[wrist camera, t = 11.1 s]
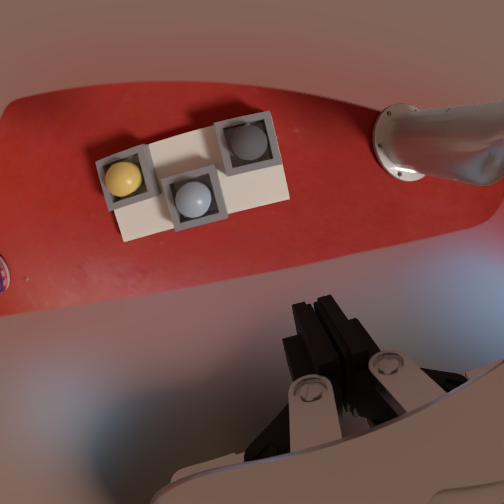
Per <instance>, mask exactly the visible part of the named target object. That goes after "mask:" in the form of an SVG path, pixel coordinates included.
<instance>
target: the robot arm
mask: <svg viewBox="0 0 504 504" xmlns="http://www.w3.org/2000/svg"><path fill="white" fill-rule="evenodd" d="M372 141H373V148H374V152H375V155H376V157H377V159H378V161H379V163H380V165H381V166H382V168H383V169H384V170H385V171H386V172H387V173H388V174H389V175H391V176H392V177H394V178H396V179H399V180H402V181H416V180H419V179H421V178H422V177H424V176H425V175H429V176H435V177H440V178H445V179H450V180H455V181H459V182H464V183H468V184H473V185H479V186H486V185H490V184H493V183H495V182H497V181H498V180H500V179H501V178H502V177H503V176H504V100H500V101H495V102H488V103H480V104H470V105H461V106H451V107H442V108H433V109H426V110H419V109H418V108H416V107H414V106H412V105H409V104H402V103H401V104H395V105H391V106H389V107H387V108H386V109H384V110H383V111H382V112H381V113H380V114H379V116H378V117H377V119H376V122H375V124H374V128H373V137H372ZM378 145H379V147H378ZM397 173H398V174H397ZM317 300H318V302H314V309H313V307H312V306H311V304H307V305H306V303H305V302H301V303H297V304H293V305H292V310H293V315H294V320H295V325H296V330H297V335H295V336H291V337H287V338H284V339H282V341H283V346H284V350H285V354H286V359H287V363H288V366H289V370H290V374H291V377H292V380H293V383H292V385H291V386H290V388H289V403H288V404H287V405H286V406H285V408H284V409H283V410H282V411H281V412H280V413H279V414H278V415H277V417H276V418H275V419H274V420H273V421H272V422H271V423H270V424H269V425H268V426H267V428H266V429H265V430H264V431H263V432H262V433H261V434H260V435H259V436H258V437H257V438H256V439H255V440H254V441H253V442H252V443H251V444H250V445H249V447H248V448H247V449H246V451H245V452H243V453H241V454H238V455H236V454H235V453H232V454H229V455H227V456H224V457H220V458H218V459H214V460H211V461H207V462H204V463H200V464H197V465H193V466H190V467H186V468H183V469H181V470H178V471H177V472H176V473H175V474H174V475H173V477H172V479H171V484H169V485H167V486H165V487H164V488H162V489H161V490H160V491H159V492H158V493H156V495H155V496H154V497H153V499H152V501H151V503H150V504H504V359H503V360H499V361H497V362H494V363H492V364H489V365H486V366H483V367H481V368H477V369H475V370H472V371H469V372H466V373H465V376H462V375H460V374H456V373H450V372H443V371H437V370H430V369H424V368H419V367H418V366H417V365H416V364H414V363H413V362H412V361H411V360H410V359H409V358H408V357H407V356H406V355H404V354H403V353H401V352H399V351H396V350H384V351H380V349H379V348H378V346H377V345H376V344H375V342H374V341H373V340H372V338H371V337H370V335H369V334H368V333H367V331H366V330H365V329H364V327H363V326H362V324H361V323H360V322H359V320H358V319H356V318H353V319H350V320H348V319H347V317H346V316H345V315H344V313H343V312H342V310H341V309H340V307H339V306H338V304H337V303H336V302H335V300H334V299H333V297H332V296H331V295H327V296H323V297H320V298H318V299H317ZM314 310H315V311H314ZM343 406H344V408H345V411H346V412H349V411H351V413H352V415H353V417H357V416H361V417H365V418H366V421H367V423H368V425H369V426H370V428H369V429H366V430H364V431H361V432H358V433H355V434H353V435H350V436H347V437H344V438H342V436H341V431H340V425H341V423H342V422H343Z"/></svg>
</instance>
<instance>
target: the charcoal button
mask: <svg viewBox="0 0 504 504" xmlns="http://www.w3.org/2000/svg"><path fill="white" fill-rule="evenodd" d="M266 148H267V137H266V135H265V133H264V132H263V131H262V130H261V129H260V128H258V127H256V126H253V125H245V126H242V127H240V128H238V129H237V130H236V131H235V132H234V134H233V136H232V139H231V149H232V151H233V153H234V154H235V155H236V156H237V157H238V158H240V159H244V160H254V159H257V158H259V157H260V156H262V155H263V154H264V152H265V151H266Z"/></svg>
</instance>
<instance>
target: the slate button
mask: <svg viewBox="0 0 504 504" xmlns="http://www.w3.org/2000/svg"><path fill="white" fill-rule="evenodd" d="M211 200H212V191H211V189H210V187H209V186H208V185H207V184H206V183H205V182H203V181H200V180H192V181H189V182H188V183H186V184H185V185H183V186H182V187H181V188H180V189H179V190H178V192H177V194H176V198H175V203H176V207H177V209H178V210H179V212H180V213H181V214H183V215H184V216H186V217H190V218H196V217H199V216H201V215H203V214H204V213H205V212H206V211H207V210H208V208H209V206H210V203H211Z"/></svg>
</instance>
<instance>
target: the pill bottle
mask: <svg viewBox="0 0 504 504" xmlns="http://www.w3.org/2000/svg"><path fill="white" fill-rule="evenodd" d="M9 282H10V274H9V270H8V267H7V265H6V263H5V261H4V260H3V258H2V257H1V256H0V294H1V293H3V292H4V291H5V290H6V289H7V288H8V286H9Z"/></svg>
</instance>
